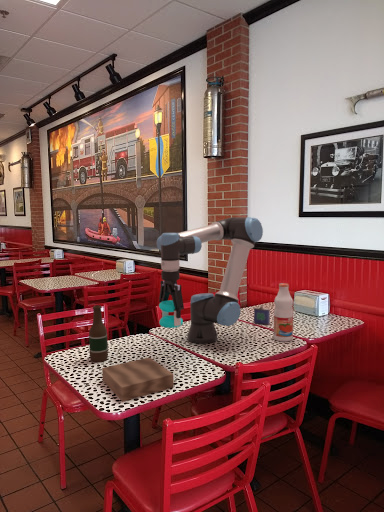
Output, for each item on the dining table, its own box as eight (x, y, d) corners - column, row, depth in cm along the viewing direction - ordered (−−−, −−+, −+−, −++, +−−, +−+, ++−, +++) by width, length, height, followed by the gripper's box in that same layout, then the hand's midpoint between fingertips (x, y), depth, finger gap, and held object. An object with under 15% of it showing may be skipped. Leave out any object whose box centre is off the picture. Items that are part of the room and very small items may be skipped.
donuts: (184, 299, 169) (180, 305, 159) (184, 322, 170) (181, 329, 160) (161, 299, 170) (156, 304, 160) (162, 321, 171) (157, 328, 161)
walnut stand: (149, 369, 161) (149, 357, 160) (173, 387, 144) (173, 374, 143) (102, 380, 150) (102, 367, 150) (122, 401, 134) (121, 387, 133)
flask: (270, 324, 223) (270, 305, 222) (268, 325, 221) (268, 307, 219) (254, 322, 228) (254, 304, 226) (252, 323, 225) (253, 305, 224)
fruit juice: (284, 334, 204) (285, 281, 201) (296, 340, 195) (297, 284, 192) (269, 337, 200) (270, 283, 196) (281, 343, 191) (282, 286, 188)
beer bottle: (88, 357, 174) (86, 304, 172) (106, 355, 177) (104, 303, 174) (90, 363, 167) (88, 308, 164) (109, 361, 170) (107, 306, 167)
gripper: (150, 267, 170) (151, 317, 173) (175, 274, 151) (176, 330, 154) (165, 266, 174) (166, 315, 177) (192, 272, 155) (192, 327, 158)
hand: (171, 322), depth 165 cm, fingers closed on donuts, 10 cm apart
